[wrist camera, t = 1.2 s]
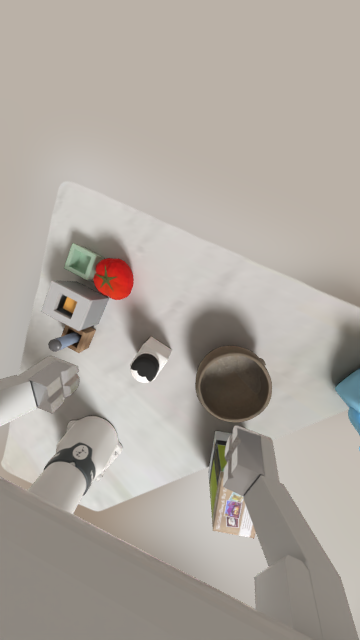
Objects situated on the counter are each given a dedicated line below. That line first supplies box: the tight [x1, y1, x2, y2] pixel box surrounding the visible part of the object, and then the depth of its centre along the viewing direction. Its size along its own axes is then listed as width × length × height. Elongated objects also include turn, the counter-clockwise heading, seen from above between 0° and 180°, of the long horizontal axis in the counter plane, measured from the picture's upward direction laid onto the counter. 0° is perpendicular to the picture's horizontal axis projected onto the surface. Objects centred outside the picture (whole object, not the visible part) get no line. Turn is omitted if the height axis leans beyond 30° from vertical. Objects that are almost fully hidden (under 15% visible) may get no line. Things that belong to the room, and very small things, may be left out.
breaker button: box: [63, 297, 77, 313], centre depth 47 cm, size 3×3×2 cm
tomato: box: [93, 258, 134, 300], centre depth 46 cm, size 9×10×8 cm
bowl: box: [195, 346, 272, 422], centre depth 47 cm, size 17×18×10 cm
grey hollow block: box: [41, 281, 109, 331], centre depth 48 cm, size 8×10×9 cm
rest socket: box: [64, 243, 104, 280], centre depth 49 cm, size 7×7×4 cm
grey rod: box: [48, 332, 82, 352], centre depth 48 cm, size 3×3×10 cm
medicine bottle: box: [130, 337, 172, 383], centre depth 47 cm, size 7×7×12 cm
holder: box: [61, 325, 96, 353], centre depth 52 cm, size 6×6×4 cm
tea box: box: [209, 431, 256, 539], centre depth 49 cm, size 15×10×15 cm
